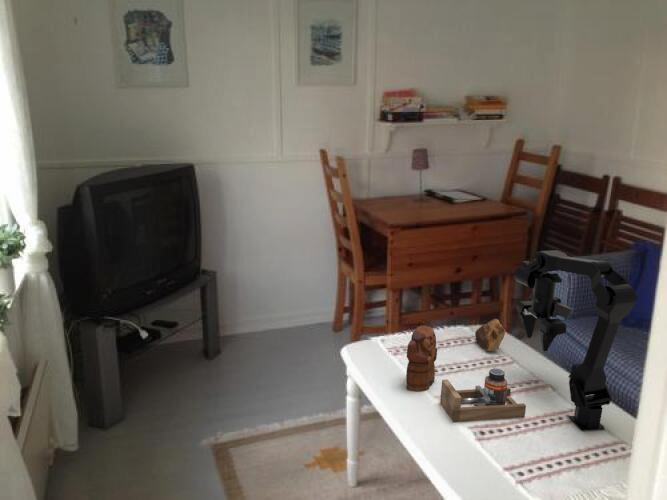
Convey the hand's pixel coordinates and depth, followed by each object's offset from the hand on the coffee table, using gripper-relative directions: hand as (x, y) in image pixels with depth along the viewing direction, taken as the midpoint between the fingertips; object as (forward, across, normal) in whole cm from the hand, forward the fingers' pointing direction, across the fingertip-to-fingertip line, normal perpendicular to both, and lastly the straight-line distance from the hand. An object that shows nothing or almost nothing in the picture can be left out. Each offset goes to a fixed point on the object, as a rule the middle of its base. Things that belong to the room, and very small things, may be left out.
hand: (537, 344), depth 173 cm
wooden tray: (+13, -12, +21) cm, 27 cm away
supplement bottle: (+13, -12, +18) cm, 25 cm away
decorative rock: (+13, +26, +2) cm, 29 cm away
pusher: (+12, -12, +24) cm, 29 cm away
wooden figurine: (+13, +4, +33) cm, 36 cm away
